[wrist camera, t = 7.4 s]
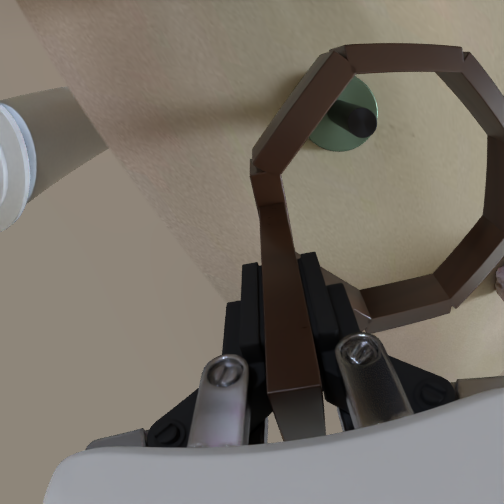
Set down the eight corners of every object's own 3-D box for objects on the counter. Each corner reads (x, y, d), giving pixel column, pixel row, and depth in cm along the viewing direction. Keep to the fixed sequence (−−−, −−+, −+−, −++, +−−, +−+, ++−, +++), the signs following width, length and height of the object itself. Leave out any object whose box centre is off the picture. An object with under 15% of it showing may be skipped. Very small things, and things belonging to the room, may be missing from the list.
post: (303, 155, 31) (318, 179, 24) (290, 77, 27) (302, 76, 20) (378, 145, 30) (411, 166, 23) (369, 69, 26) (403, 70, 19)
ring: (284, 318, 23) (301, 498, 11) (227, 65, 14) (151, 30, 3) (484, 273, 21) (569, 394, 10) (495, 54, 12) (666, 97, 1)
